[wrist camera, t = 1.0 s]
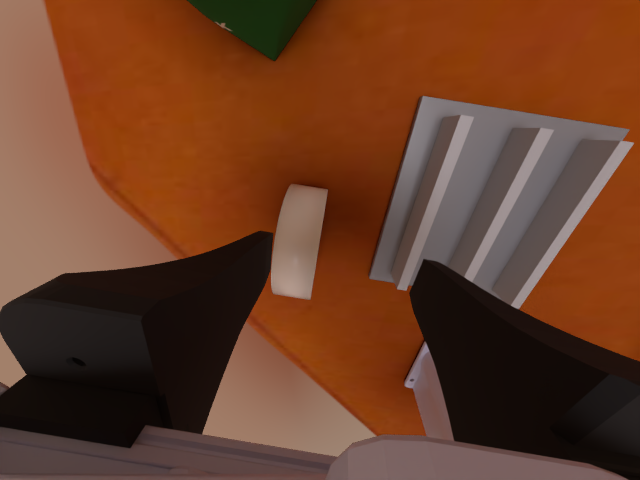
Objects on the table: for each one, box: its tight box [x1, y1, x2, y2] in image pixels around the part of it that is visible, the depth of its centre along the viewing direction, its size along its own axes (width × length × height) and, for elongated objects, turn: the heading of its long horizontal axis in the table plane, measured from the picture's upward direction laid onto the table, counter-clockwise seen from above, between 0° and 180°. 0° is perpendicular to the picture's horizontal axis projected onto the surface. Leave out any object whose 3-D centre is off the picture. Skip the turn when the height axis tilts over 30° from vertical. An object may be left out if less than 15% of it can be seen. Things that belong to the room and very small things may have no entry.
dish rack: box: [369, 96, 634, 309], centre depth 18 cm, size 15×14×3 cm
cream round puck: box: [271, 184, 328, 300], centre depth 17 cm, size 8×2×8 cm, turn 172°
